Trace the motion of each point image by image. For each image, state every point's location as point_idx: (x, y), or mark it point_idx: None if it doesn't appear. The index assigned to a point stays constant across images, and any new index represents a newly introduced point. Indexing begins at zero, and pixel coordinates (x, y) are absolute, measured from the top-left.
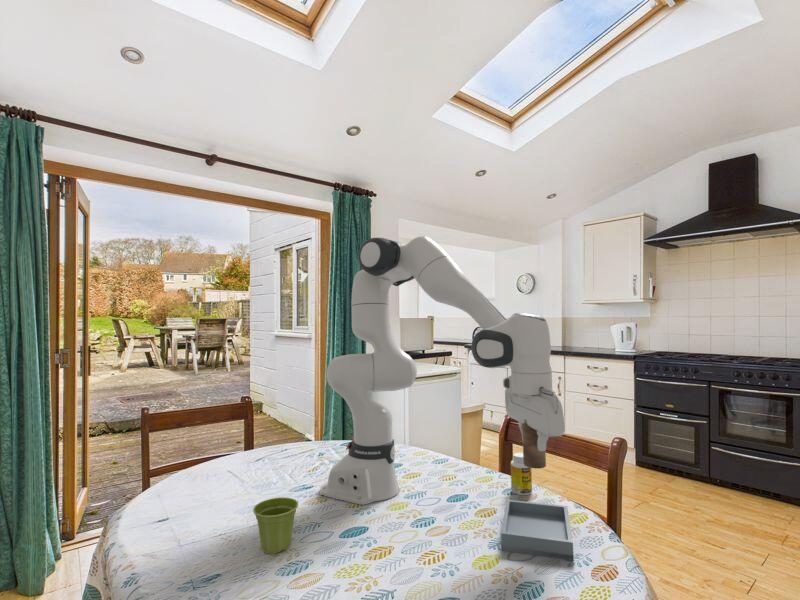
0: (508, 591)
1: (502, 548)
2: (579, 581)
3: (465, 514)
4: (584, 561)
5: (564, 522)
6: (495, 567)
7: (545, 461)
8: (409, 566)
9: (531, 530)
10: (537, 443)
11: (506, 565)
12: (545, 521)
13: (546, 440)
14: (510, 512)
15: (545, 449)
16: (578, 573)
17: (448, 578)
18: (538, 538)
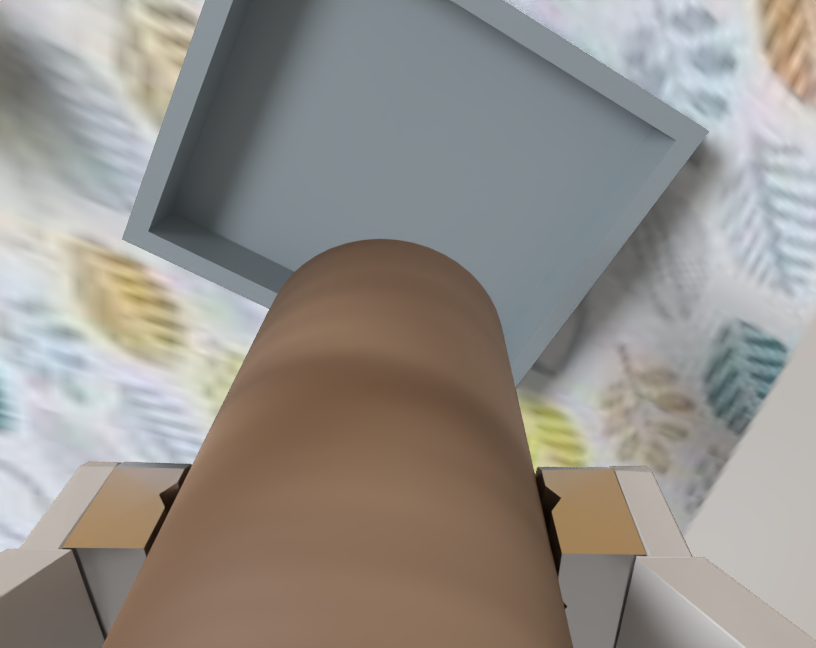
0: (726, 446)
1: None
2: (809, 183)
3: (149, 399)
4: (701, 60)
5: None
6: (587, 434)
7: (468, 292)
8: None
9: (399, 198)
10: (616, 640)
11: (590, 396)
12: (316, 63)
13: (752, 610)
14: (180, 213)
15: (650, 481)
16: (763, 152)
17: None
18: (594, 279)
